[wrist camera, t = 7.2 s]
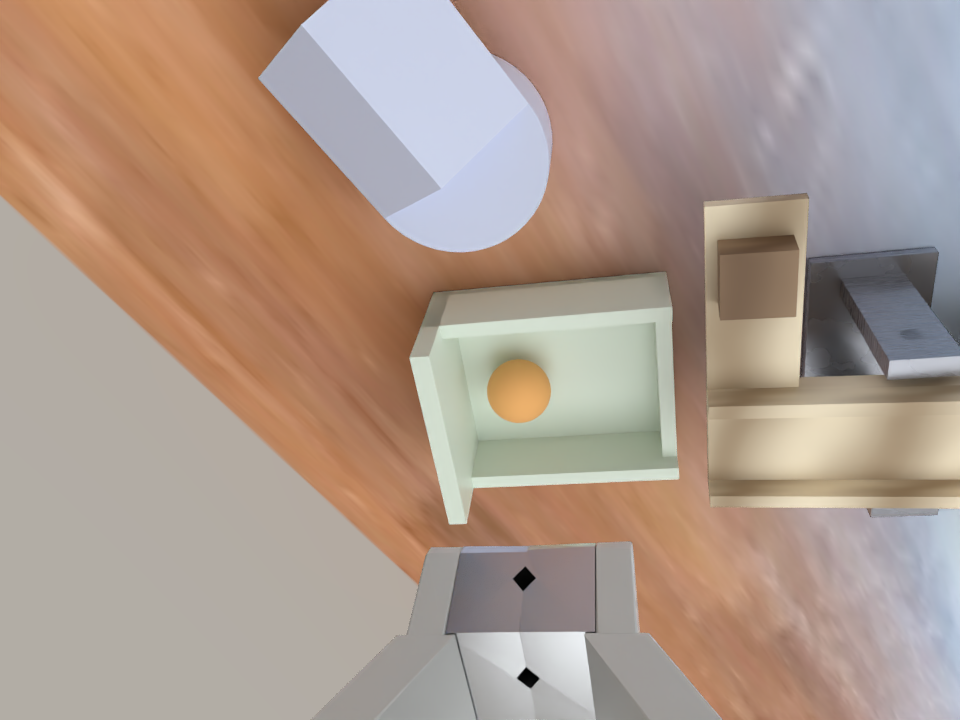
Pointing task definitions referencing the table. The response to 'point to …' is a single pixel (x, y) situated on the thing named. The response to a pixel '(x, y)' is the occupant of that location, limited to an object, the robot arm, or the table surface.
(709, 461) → the lever
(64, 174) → the table surface
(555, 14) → the table surface
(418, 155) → the wedge on round base
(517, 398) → the ball
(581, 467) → the tray
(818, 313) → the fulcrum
